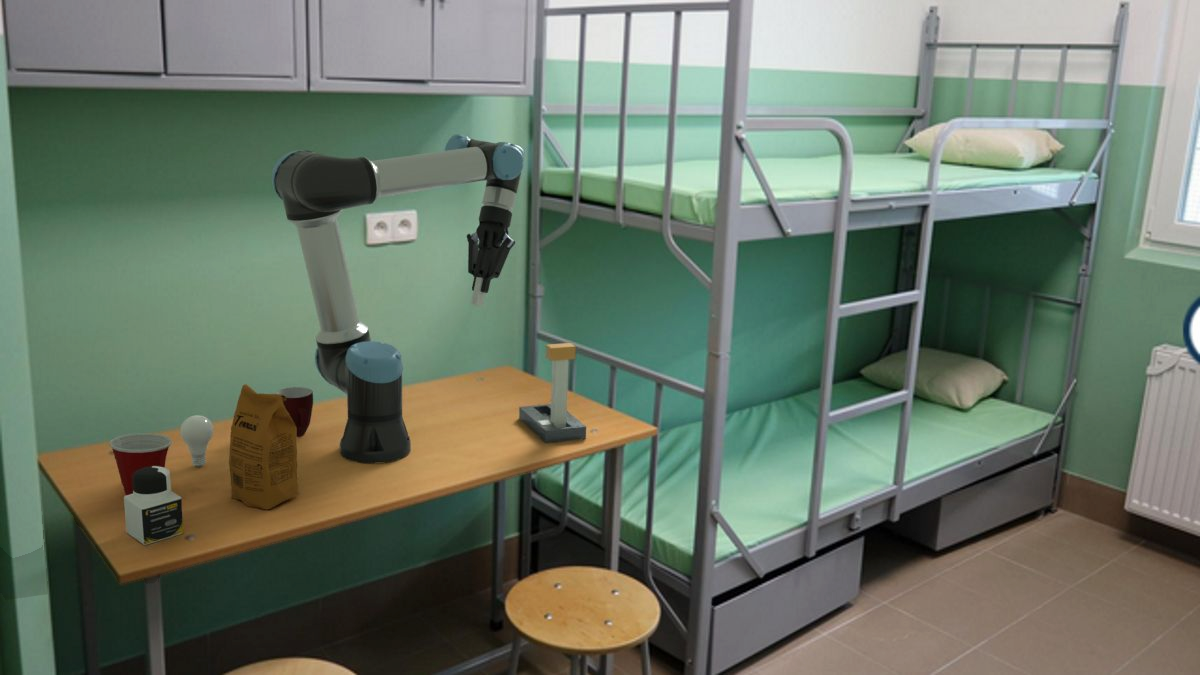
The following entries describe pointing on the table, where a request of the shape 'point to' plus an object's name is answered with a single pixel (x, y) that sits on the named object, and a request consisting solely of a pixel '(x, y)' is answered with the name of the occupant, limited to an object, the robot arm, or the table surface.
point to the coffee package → (262, 450)
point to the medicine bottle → (153, 506)
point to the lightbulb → (197, 437)
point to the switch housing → (545, 430)
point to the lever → (559, 380)
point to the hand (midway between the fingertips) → (476, 305)
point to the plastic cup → (138, 454)
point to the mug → (298, 406)
